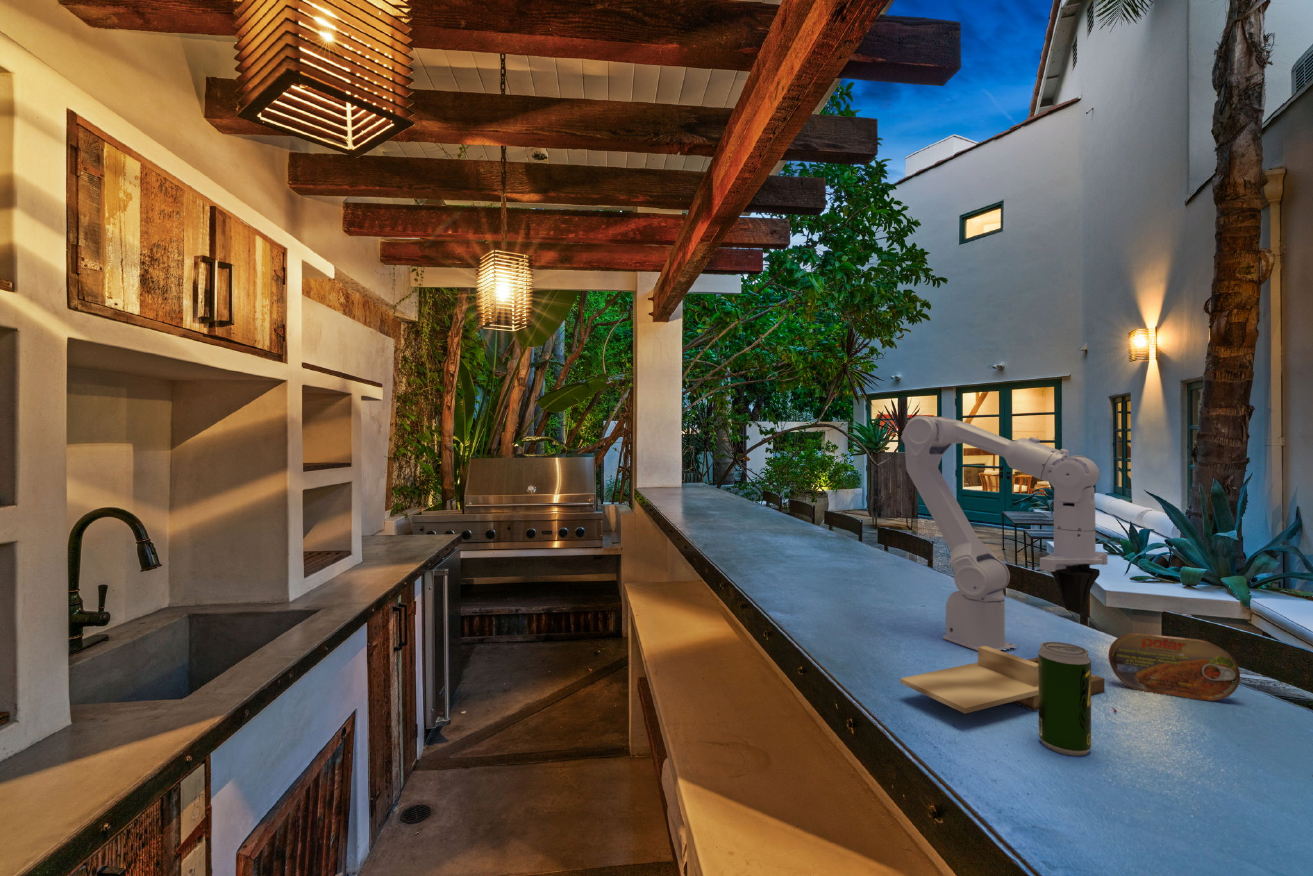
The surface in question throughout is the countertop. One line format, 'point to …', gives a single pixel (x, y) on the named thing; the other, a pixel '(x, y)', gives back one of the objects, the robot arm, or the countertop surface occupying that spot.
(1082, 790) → the countertop surface
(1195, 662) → the tin
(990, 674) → the cover plate
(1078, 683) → the beer can
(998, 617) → the robot arm
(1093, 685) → the box
